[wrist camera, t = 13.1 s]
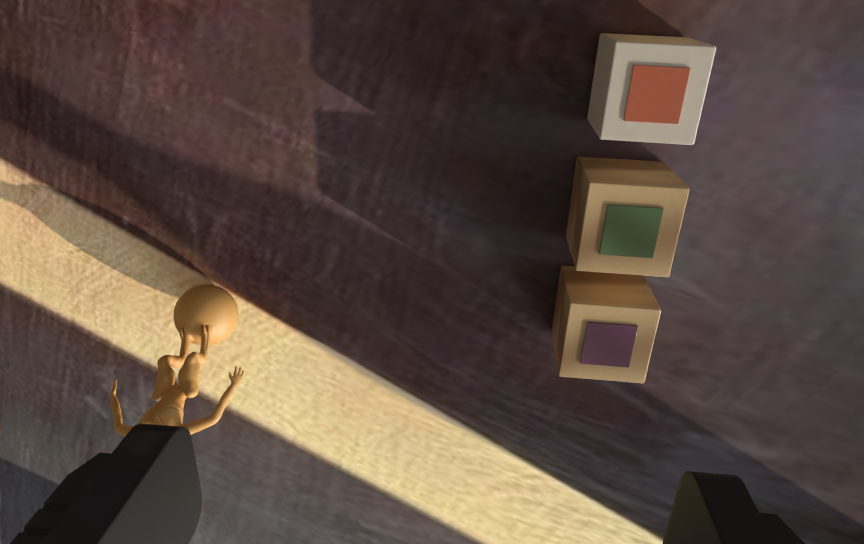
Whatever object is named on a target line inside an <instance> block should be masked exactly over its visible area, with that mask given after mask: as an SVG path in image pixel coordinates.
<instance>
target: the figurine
mask: <svg viewBox="0 0 864 544" xmlns="http://www.w3.org/2000/svg"><path fill="white" fill-rule="evenodd" d="M237 321H238V308H237V304H236V302H235V300H234V298H233V297H232V296H231V295H230V294H229V293H228V292H227V291H226V290H224V289H222V288H220V287H218V286H214V285H199V286H196V287H193V288H191V289H189V290H188V291H186V292H185V293H184V294H183V295H182V296H181V297H180V298H179V300H178V301H177V303H176V306H175V309H174V322H175V326H176V328H177V330H178V332H179V333H180V336H181V339H182V342H181V349H180V356H171V355H165V356H163V357H161V358H160V359H159V360H158V372H157V382H156V386H155V388H154V392H153V394H152V399H153V400H154V401H159V402H158V403H156V404H155V405H154V406H153V407H152V408H150V409H149V410H147V411H146V413H145V414H144V415H143V417H142V419H141V420H140V422H139V424H140V423H145V424H157V425H169V426H180V427H186V428H187V429H188V430H189V432H190V434H191V435H192V434H193V433H196V432H198V431H201V430H203V429H205V428H207V427H210V426H212V425H213V424H215V423H216V422H218V420H219V419H220V417H221V415H222V413H223V411H224V409H225V407H226V405H227V404H228V402H229V400H230V398H231V397H232V394H233V392H234V390H235V389H236V387H237V386H238V385H239V383H240V381H241V379H242V376H243V373H244V370H243V371H242V374H241V375H240V373H241V367H240V369H239V372H238V374H237V367H235V371H234V376H231V373H230V372H229V377H230V380H231V385H230V386H229V387H228V389H227V390H226V391H225V392H224V394H223V395H222V397H221V399H220V401H219V403H218V405H217V406H216V407H215V409H214V411H213V412H212V414H211V415H210V416H208V417H205V418H201V419H198V420H195V421H192V422H190V423H187V424H182V421H183V407H184V401H185V399H186V398H187V397H188V398H193V397H195V396H196V395H197V394H198V390H199V388H198V380H199V373H200V367H199V365H203V364H204V363H205V362H206V358H207V355H208V349H209V345H213V344H216V343H219V342H221V341H223V340H224V339H226V338H227V337H228V336H229V335H230V334H231V333H232V332H233V330H234V329H235V327H236V324H237ZM190 342H192V343H194V344H198V345H201V349H200V353H197V352H192V353H190V354H189V355H188V356H187V354H188V349H189V345H190ZM183 362H184V365H183V366H182V368H181V369H180V371H179V374H178V380H179V384H180V385H179V384H174V381H175V372H174V370H173V369H172V368H171V366H172V367H174V368H177V367H180V366H181V365H182V364H183ZM116 382H117V379H116V380H115V382H114V385H113V389H112V392H111V409H112V413H113V416H114V429H115V431H116V432H117V433H118V434H120V435H122V436H124V437H125V436H126V435H127V434H128V432H129V431H130V430H131V429H132V428H133V427H131V426H127V425H122V415H121V408H120V404H119V402H118V400H117V398H116V388H117V384H116Z"/></svg>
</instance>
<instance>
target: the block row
mask: <svg viewBox="0 0 864 544" xmlns="http://www.w3.org/2000/svg"><path fill="white" fill-rule="evenodd" d="M689 190H690V189H689V188H688V187H687V186H686V184H685V183H684V182H683V181H682V180H681V179H680V178H679V177H678V176H677V175H676V174H675V173H674V172H673V171H672V169H671V168H670V167H669V166H668V165H667V164H666V163H665V162H661V161H644V160H628V159H611V158H594V157H577V160H576V167H575V174H574V181H573V188H572V195H571V201H570V208H569V215H568V222H567V229H566V238H567V242H568V245H569V249H570V252H571V256H572V259H573V263H574V266H564V265H561V270H560V276H559V283H558V290H557V297H556V304H555V311H554V317H553V324H552V331H551V333H552V339H553V345H554V351H555V356H556V362H557V368H558V374H559V376H561V377H573V378H585V379H598V380H610V381H622V382H634V383H644V381H645V377H646V373H647V368H648V364H649V360H650V356H651V351H652V347H653V343H654V339H655V334H656V330H657V326H658V322H659V317H660V313H661V309H660V307H659V305H658V303H657V301H656V299H655V297H654V295H653V293H652V291H651V289H650V287H649V285H648V283H647V281H646V279H645V277H644V275H646V276H660V277H669V275H670V271H671V266H672V262H673V258H674V254H675V249H676V245H677V241H678V237H679V232H680V228H681V224H682V220H683V215H684V211H685V207H686V203H687V198H688V194H689Z"/></svg>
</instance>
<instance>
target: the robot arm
mask: <svg viewBox="0 0 864 544" xmlns="http://www.w3.org/2000/svg"><path fill="white" fill-rule="evenodd" d="M201 506H202V494H201V487H200V482H199V477H198V471H197V466H196V460H195V455H194V449H193V444H192V438H191V434H190V432H189V430H188V429H187V428H186V427H180V426H169V425H157V424H145V423H140V424H137V425H135V426H134V427H133V428H132V429H131V430H130V431H129V432H128V434H127V435H126V436H125V437H124V439H123V440H122V441H121V443H120V444H119V445H118V446H117V448H116V449H115V450H114V451H113V453H112V454H109V453H99V454H97V455H96V456H95V457H93V458H92V459H90V460H89V461H87V462H86V463H85V464H83V465H82V466H80V467H79V468H77V469H76V470H75V471H73V472H72V473H70V474H69V475H68V476H67V477H66V478H65V479H64V480H63V482H62V483H61V484H60V485H59V486H58V487H57V489H56V490H55V491H54V492H53V493H52V495H51V496H50V497H49V498H48V499H47V501H46V502H45V503H44V508H43V509H39V510H38V511H37V512H36V514H35V515H34V516H33V517H32V518H31V519H30V521H29V522H28V523H27V524H26V525H25V529H24V531H23V533H19V534H18V535H17V536H16V537H15V538H14V540H13V541H12V542H11V543H10V544H189V542H190V540H191V538H192V536H193V534H194V532H195V530H196V527H197V524H198V521H199V517H200V512H201ZM663 544H805V543H804V542H803V541H802V540H801V539H800V538H799V537H798V536H797V535H796V534H795V533H794V532H793V531H792V530H791V529H790V528H789V527H788V526H787V525H786V524H785V523H784V522H783V521H782V520H781V519H780V518H779V517H778V516H777V515H776V514H765V513H759V512H758V510H757V508H756V506H755V504H754V502H753V500H752V498H751V496H750V494H749V492H748V490H747V488H746V486H745V484H744V483H743V481H742V480H741V479H740V478H739V477H738V476H735V475H724V474H713V473H701V472H689V471H688V472H685V473H684V474H683V475H682V477H681V480H680V483H679V487H678V490H677V494H676V497H675V501H674V504H673V508H672V511H671V514H670V518H669V521H668V525H667V528H666V532H665V535H664V540H663Z"/></svg>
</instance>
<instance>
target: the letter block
mask: <svg viewBox="0 0 864 544" xmlns="http://www.w3.org/2000/svg"><path fill="white" fill-rule="evenodd" d="M715 51H716V46H713V45H710V44H707V43H704V42H700V41H697V40H694V39H691V38H688V37H670V36H650V35H629V34H609V33H601V34H600V36H599V43H598V50H597V56H596V63H595V70H594V76H593V83H592V90H591V96H590V103H589V109H588V116H587V120H588V122H589V123H590V125H591V126H592V128H593V129H594V131H595V132H596V134H597V135H598V137H599V138H600V139H603V140H620V141H636V142H653V143H670V144H686V145H693V144H694V142H695V137H696V133H697V129H698V124H699V120H700V116H701V111H702V107H703V103H704V98H705V94H706V90H707V85H708V81H709V77H710V72H711V68H712V64H713V60H714V55H715Z"/></svg>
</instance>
